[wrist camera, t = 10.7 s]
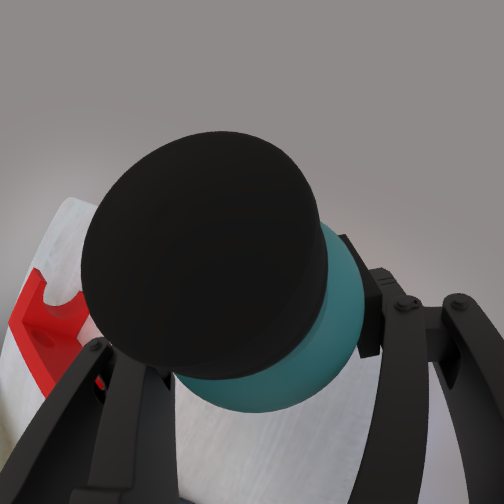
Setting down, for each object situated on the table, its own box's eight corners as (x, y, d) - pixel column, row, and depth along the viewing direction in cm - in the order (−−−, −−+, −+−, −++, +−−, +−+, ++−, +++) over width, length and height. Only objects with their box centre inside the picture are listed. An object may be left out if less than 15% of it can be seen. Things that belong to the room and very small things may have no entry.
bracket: (5, 328, 24) (33, 267, 26) (56, 343, 33) (84, 292, 35) (64, 436, 17) (101, 364, 19) (124, 428, 26) (161, 370, 28)
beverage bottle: (352, 338, 20) (495, 174, 3) (297, 401, 19) (173, 552, 2) (292, 291, 23) (206, 58, 5) (239, 349, 22) (9, 254, 4)
